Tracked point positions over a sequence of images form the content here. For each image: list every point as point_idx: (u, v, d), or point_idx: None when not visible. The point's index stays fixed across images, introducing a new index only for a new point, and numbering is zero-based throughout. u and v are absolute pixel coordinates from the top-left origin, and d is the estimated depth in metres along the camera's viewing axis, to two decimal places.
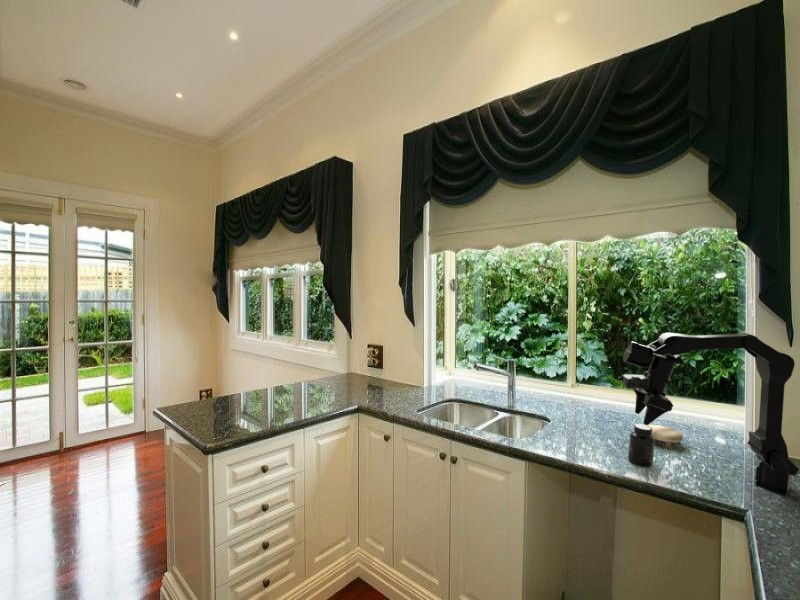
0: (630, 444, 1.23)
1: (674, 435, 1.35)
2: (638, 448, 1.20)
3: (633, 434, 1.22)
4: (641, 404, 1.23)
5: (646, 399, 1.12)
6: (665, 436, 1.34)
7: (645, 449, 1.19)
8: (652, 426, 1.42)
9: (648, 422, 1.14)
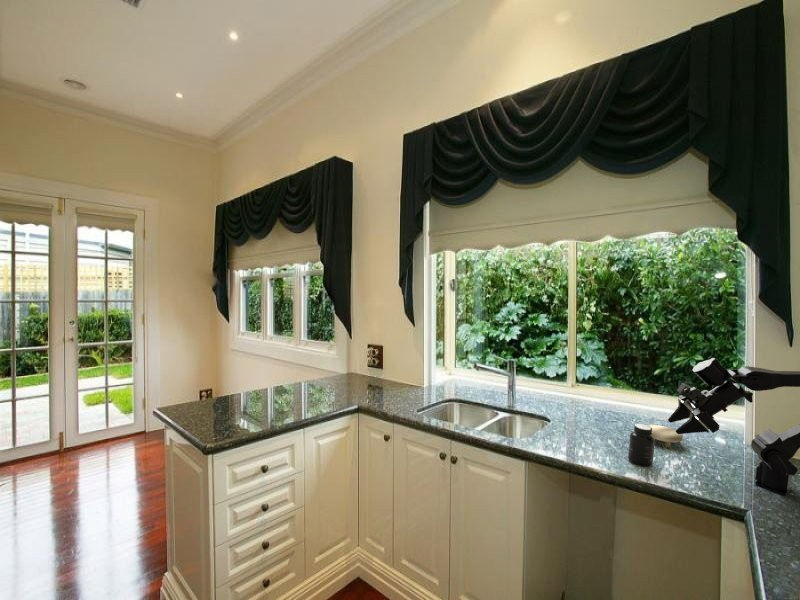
0: (630, 444, 1.23)
1: (674, 435, 1.35)
2: (638, 448, 1.20)
3: (633, 434, 1.22)
4: (678, 416, 1.22)
5: (695, 412, 1.10)
6: (665, 436, 1.34)
7: (645, 449, 1.19)
8: (652, 426, 1.42)
9: (681, 432, 1.13)
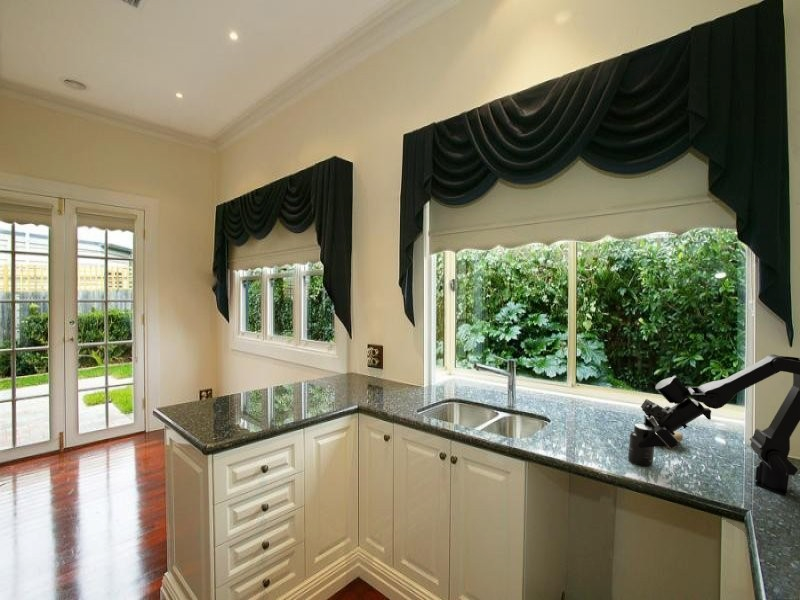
0: (630, 444, 1.23)
1: (674, 435, 1.35)
2: (638, 448, 1.20)
3: (633, 434, 1.22)
4: None
5: (656, 428, 1.14)
6: None
7: (645, 448, 1.19)
8: None
9: (642, 446, 1.19)
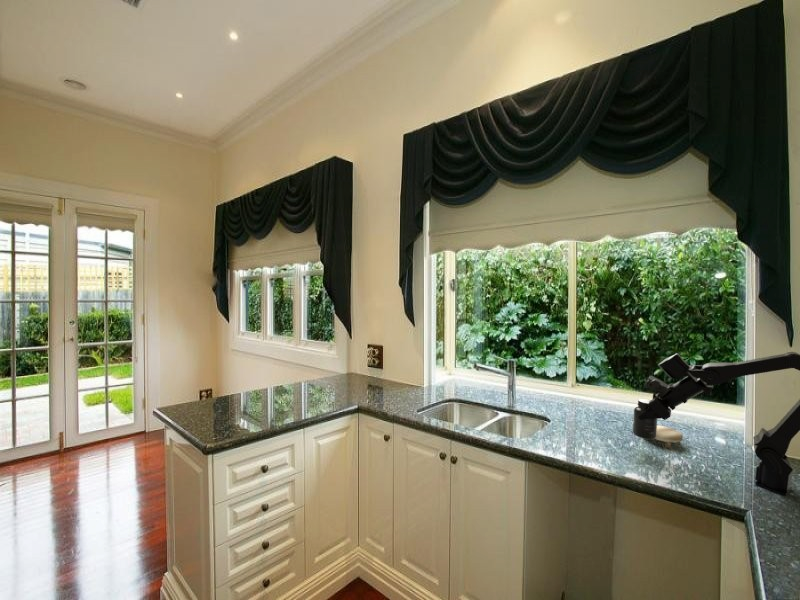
0: None
1: (674, 435, 1.35)
2: (639, 420, 1.28)
3: (636, 408, 1.30)
4: None
5: (651, 400, 1.22)
6: (665, 436, 1.34)
7: (645, 421, 1.26)
8: None
9: (642, 418, 1.26)
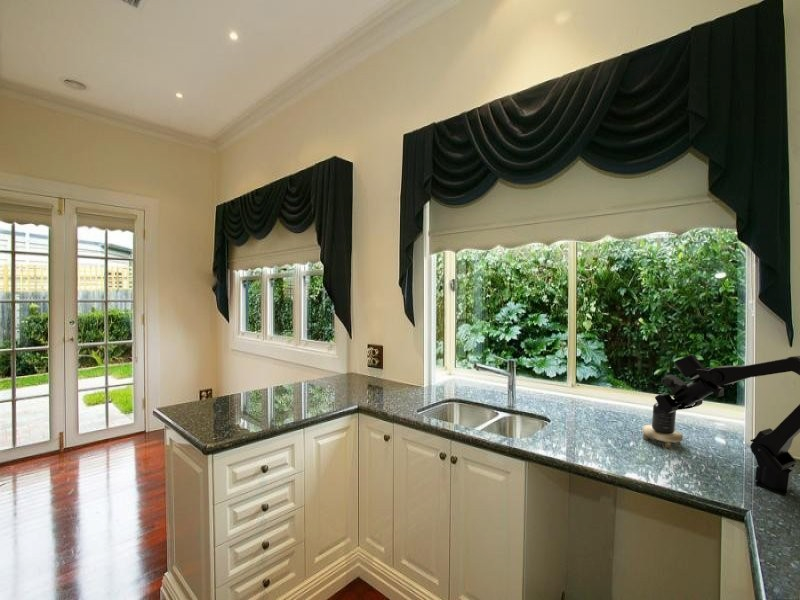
0: None
1: (674, 435, 1.35)
2: (654, 414, 1.37)
3: None
4: None
5: None
6: (665, 436, 1.34)
7: (659, 415, 1.35)
8: None
9: (656, 412, 1.36)
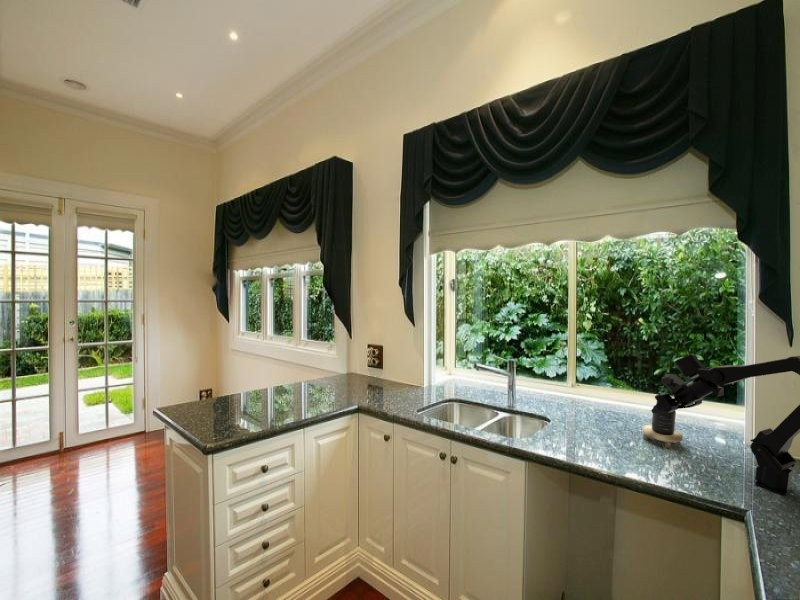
0: None
1: (674, 435, 1.35)
2: (654, 416, 1.37)
3: None
4: None
5: None
6: (665, 436, 1.34)
7: (659, 417, 1.35)
8: None
9: (654, 411, 1.36)
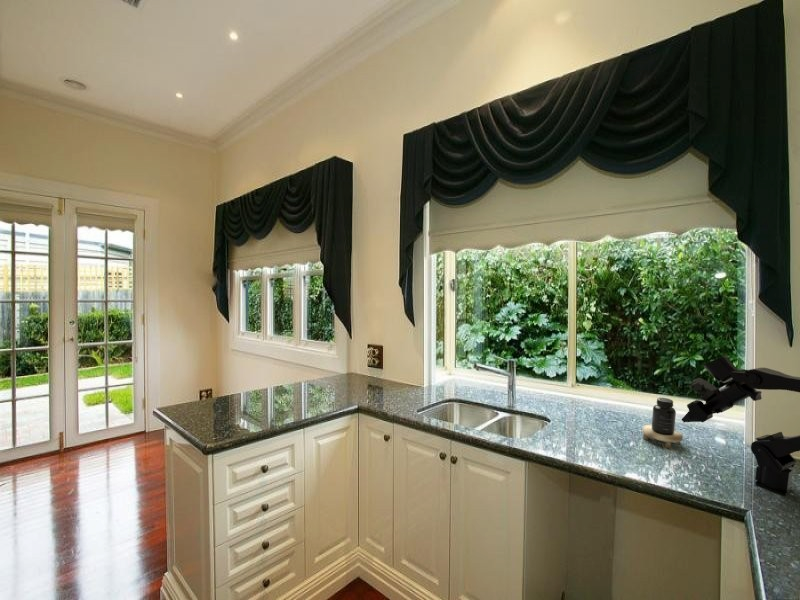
0: None
1: (674, 435, 1.35)
2: (654, 416, 1.37)
3: (655, 405, 1.39)
4: None
5: None
6: (665, 436, 1.34)
7: (659, 417, 1.35)
8: None
9: (685, 420, 1.26)
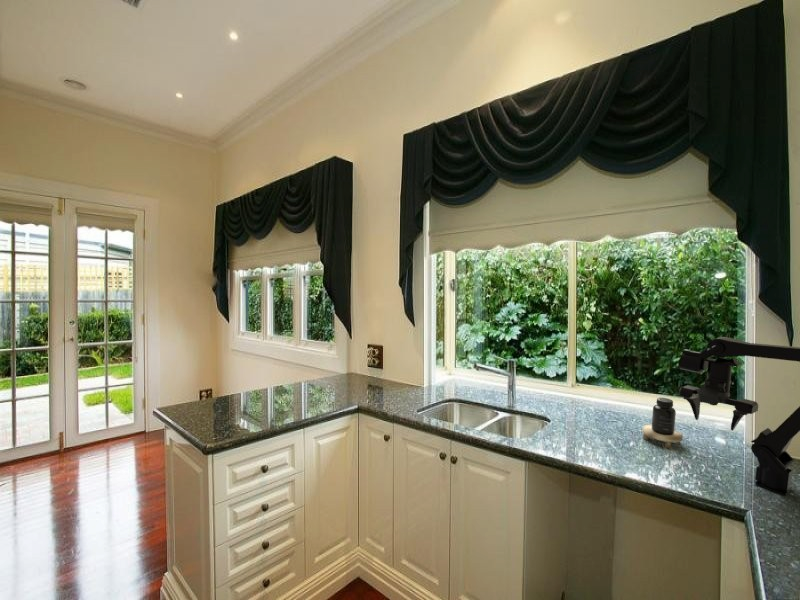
0: None
1: (674, 435, 1.35)
2: (654, 416, 1.37)
3: (655, 405, 1.39)
4: (697, 409, 1.25)
5: (741, 409, 1.13)
6: (665, 436, 1.34)
7: (659, 417, 1.35)
8: None
9: None
